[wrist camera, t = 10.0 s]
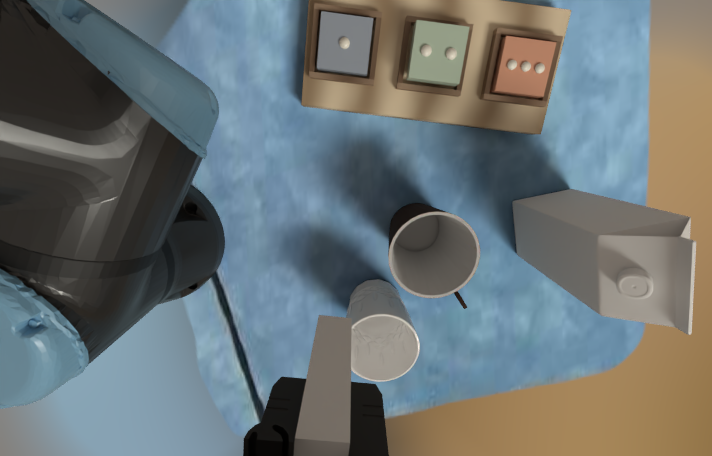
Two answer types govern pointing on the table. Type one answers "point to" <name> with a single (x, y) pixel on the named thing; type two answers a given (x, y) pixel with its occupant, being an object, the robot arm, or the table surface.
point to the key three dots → (522, 67)
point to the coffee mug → (432, 251)
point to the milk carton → (611, 254)
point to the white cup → (381, 332)
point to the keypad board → (427, 100)
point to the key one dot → (344, 44)
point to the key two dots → (437, 53)
